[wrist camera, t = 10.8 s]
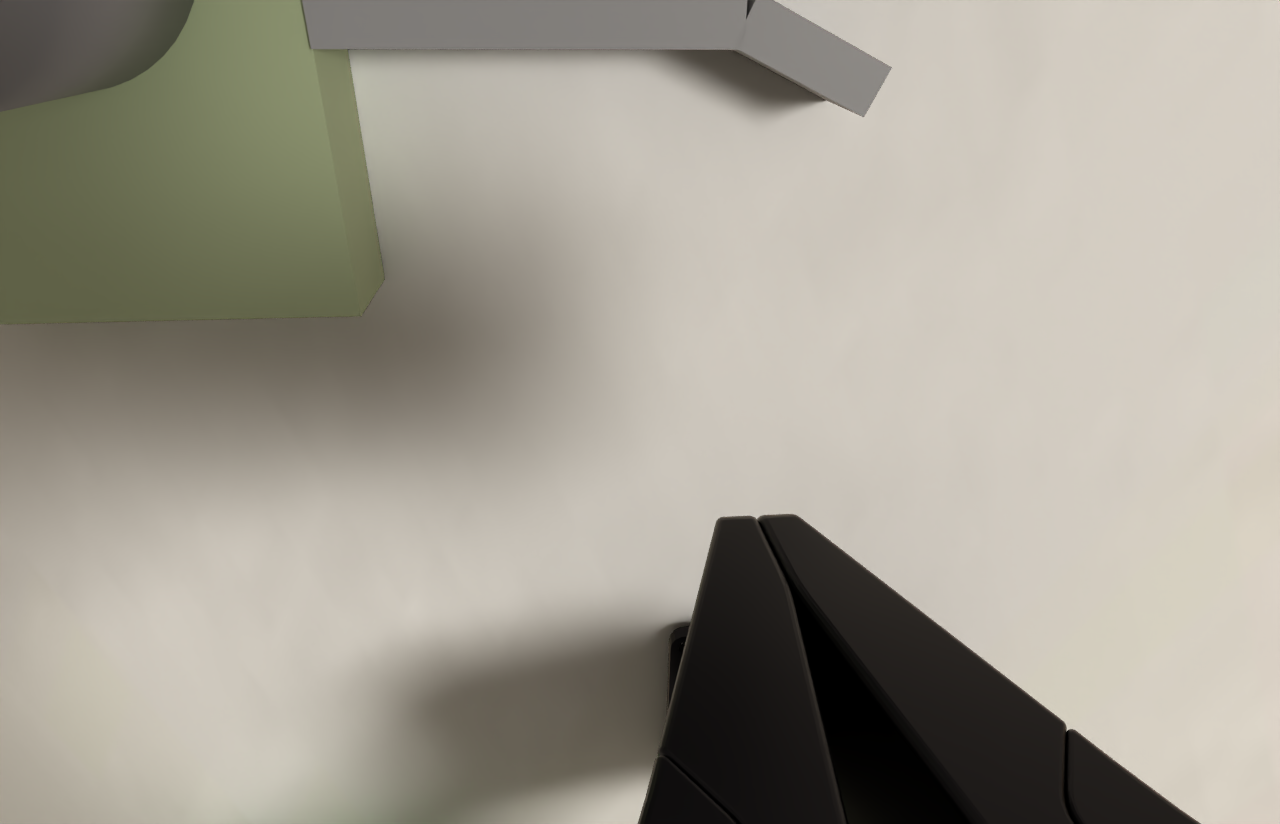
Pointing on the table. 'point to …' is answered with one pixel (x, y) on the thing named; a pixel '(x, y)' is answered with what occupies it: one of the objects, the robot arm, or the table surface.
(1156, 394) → the table surface
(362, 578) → the table surface
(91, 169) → the green block with prongs
